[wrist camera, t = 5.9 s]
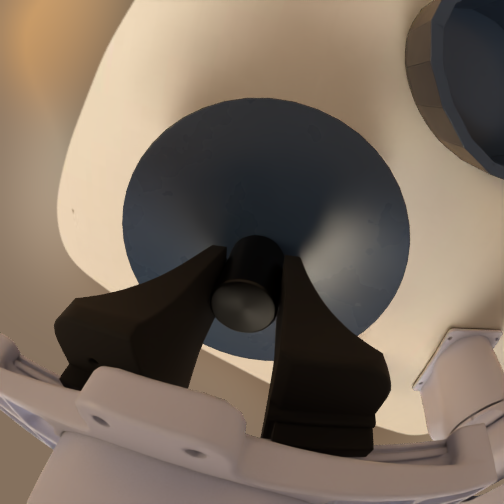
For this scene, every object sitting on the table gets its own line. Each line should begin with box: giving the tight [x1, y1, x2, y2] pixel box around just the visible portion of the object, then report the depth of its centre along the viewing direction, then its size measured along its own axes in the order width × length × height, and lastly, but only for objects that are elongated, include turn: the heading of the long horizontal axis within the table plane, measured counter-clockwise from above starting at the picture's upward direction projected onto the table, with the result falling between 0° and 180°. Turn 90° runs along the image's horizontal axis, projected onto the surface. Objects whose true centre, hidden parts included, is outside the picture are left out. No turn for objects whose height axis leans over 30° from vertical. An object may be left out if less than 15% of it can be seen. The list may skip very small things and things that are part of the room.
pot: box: [405, 0, 504, 180], centre depth 11 cm, size 13×13×4 cm
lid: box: [122, 98, 410, 361], centre depth 12 cm, size 14×14×5 cm
